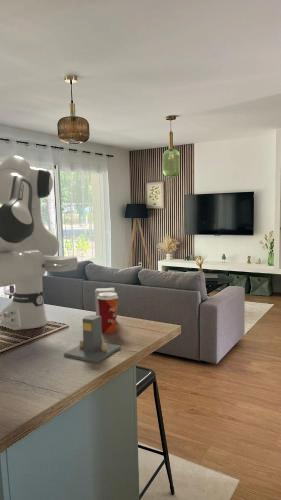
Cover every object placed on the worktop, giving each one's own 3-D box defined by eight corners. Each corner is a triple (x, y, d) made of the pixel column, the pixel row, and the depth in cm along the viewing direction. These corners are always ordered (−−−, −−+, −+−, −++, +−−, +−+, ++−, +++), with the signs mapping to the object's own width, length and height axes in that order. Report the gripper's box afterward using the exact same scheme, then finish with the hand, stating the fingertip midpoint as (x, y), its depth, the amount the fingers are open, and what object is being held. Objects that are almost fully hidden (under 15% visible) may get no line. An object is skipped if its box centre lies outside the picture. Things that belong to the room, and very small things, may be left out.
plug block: (82, 351, 121) (81, 318, 120) (92, 346, 126) (91, 314, 125) (92, 353, 119) (91, 320, 118) (101, 347, 124) (101, 316, 123)
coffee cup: (115, 334, 141) (114, 296, 140) (95, 333, 143) (94, 295, 141) (121, 328, 149) (120, 292, 148) (101, 327, 151) (101, 291, 150)
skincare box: (116, 320, 160) (116, 287, 159) (115, 324, 154) (114, 290, 153) (97, 320, 160) (96, 287, 159) (95, 324, 154) (94, 290, 153)
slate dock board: (64, 356, 120) (63, 345, 120) (89, 342, 132) (89, 333, 132) (97, 363, 114) (96, 352, 113) (120, 348, 126) (120, 338, 126)
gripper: (58, 255, 98) (89, 250, 110) (4, 252, 108) (38, 248, 120) (59, 278, 99) (89, 271, 111) (5, 274, 108) (38, 268, 120)
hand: (62, 259), depth 115 cm, fingers open, 8 cm apart
